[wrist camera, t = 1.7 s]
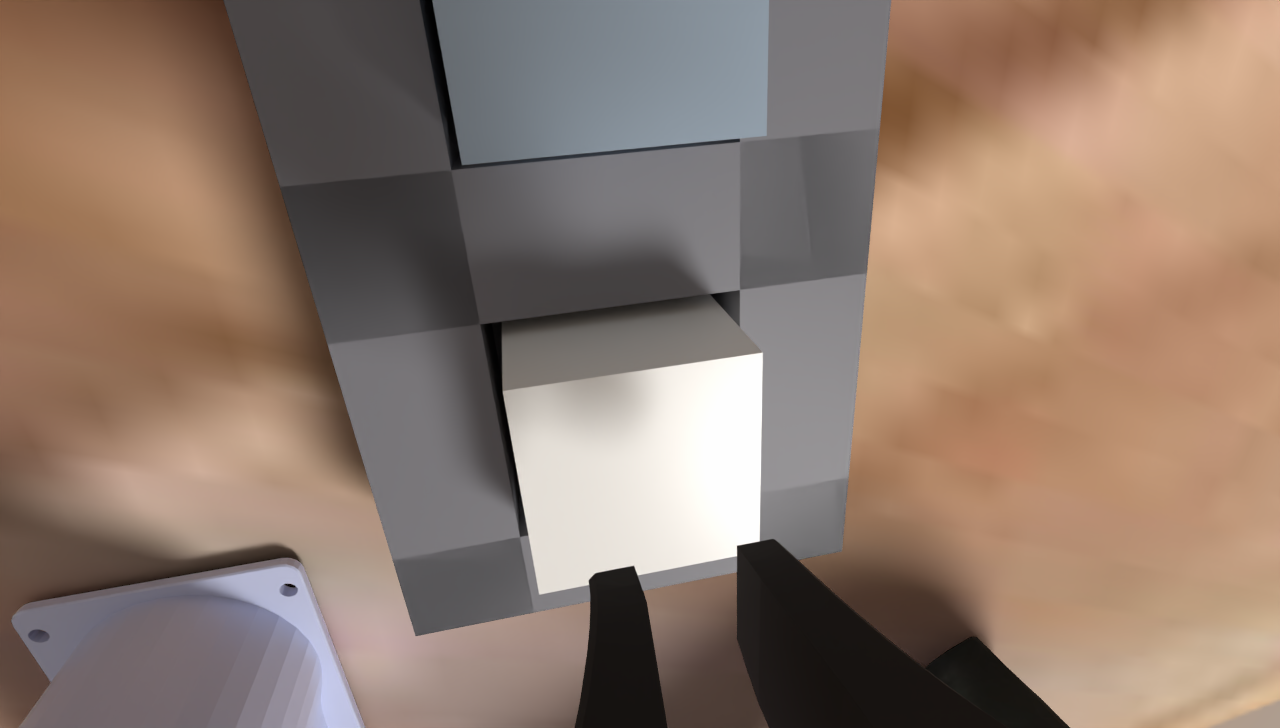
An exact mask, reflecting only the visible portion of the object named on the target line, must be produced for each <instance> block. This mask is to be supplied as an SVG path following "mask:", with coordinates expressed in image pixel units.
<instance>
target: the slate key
mask: <svg viewBox="0 0 1280 728" xmlns="http://www.w3.org/2000/svg"><path fill="white" fill-rule="evenodd" d="M432 1H433V7H434V13H435V18H436V24H437V29H438V35H439V40H440V46H441V51H442V57H443V63H444V68H445V74H446V79H447V85H448V90H449V96H450V102H451V107H452V113H453V118H454V124H455V129H456V135H457V140H458V146H459V152H460V157H461V163H462V165H469V164H479V163H490V162H500V161H511V160H521V159H531V158H542V157H552V156H563V155H573V154H583V153H594V152H604V151H614V150H625V149H635V148H646V147H656V146H666V145H677V144H687V143H698V142H708V141H718V140H729V139H739V138H750V137H760V136H767V89H768V32H769V0H432Z"/></svg>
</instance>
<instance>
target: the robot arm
mask: <svg viewBox="0 0 1280 728" xmlns="http://www.w3.org/2000/svg"><path fill="white" fill-rule="evenodd" d="M285 584H293V585H295V586H296V587H288V586H286V585H285ZM589 588H590V630H589V641H588V651H587V659H586V665H585V672H584V679H583V685H582V692H581V699H580V704H579V710H578V715H577V719H576V724H575V728H667V722H666V716H665V710H664V704H663V698H662V692H661V686H660V680H659V674H658V668H657V662H656V656H655V650H654V643H653V637H652V631H651V625H650V619H649V613H648V607H647V602H646V599H645V596H644V593H643V590H642V587H641V584H640V581H639V578H638V575H637V572H636V570H635V567H634V566H629V567H624V568H619V569H614V570H609V571H603V572H598V573H595V574H594V575H593V576H592V577H591V578H590V579H589ZM11 622H12V625H13V627H14V628H15V630H16V631H17V633H18V634H19V636H20V637H21V639H22V640H23V642H24V643H25V645H26V646H27V648H28V649H29V651H30V652H31V654H32V655H33V657H34V658H35V660H36V661H37V663H38V664H39V665H40V667H41V668H42V670H43V671H44V673H45V674H46V676H47V677H48V679H49V680H50V682H51V683H50V684H49V686H48V687H47V689H46V690H45V691H44V693H43V694H42V695H41V697H40V698H39V700H38V701H37V702H36V704H35V705H34V707H33V708H32V709H31V711H30V712H29V714H28V715H27V716H26V718H25V719H24V720H23V722H22V723H21V725H20V726H19V727H18V728H365V726H364V723H363V721H362V718H361V715H360V713H359V710H358V708H357V705H356V702H355V700H354V697H353V695H352V692H351V689H350V687H349V684H348V681H347V679H346V676H345V674H344V671H343V668H342V666H341V663H340V661H339V658H338V655H337V653H336V650H335V647H334V645H333V642H332V640H331V637H330V634H329V632H328V629H327V627H326V624H325V621H324V619H323V616H322V614H321V611H320V608H319V606H318V603H317V600H316V598H315V595H314V593H313V590H312V587H311V585H310V582H309V580H308V577H307V574H306V572H305V569H304V567H303V565H302V564H301V563H300V562H299V561H297V560H296V559H292V558H279V559H273V560H268V561H262V562H256V563H251V564H245V565H239V566H234V567H228V568H223V569H217V570H211V571H206V572H200V573H194V574H189V575H183V576H177V577H172V578H166V579H160V580H155V581H149V582H143V583H138V584H132V585H126V586H121V587H115V588H109V589H104V590H98V591H92V592H87V593H81V594H75V595H70V596H64V597H58V598H53V599H47V600H41V601H36V602H30V603H27V604H24V605H23V606H22V607H21V608H19V610H18V611H17V612H16V613H15V614H14V615H13V617H12V620H11ZM41 630H43V631H41ZM44 631H46V632H44ZM737 640H738V643H739V646H740V649H741V652H742V656H743V659H744V662H745V665H746V668H747V671H748V674H749V677H750V680H751V683H752V686H753V689H754V692H755V695H756V697H757V700H758V703H759V705H760V708H761V710H762V712H763V714H764V717H765V719H766V721H767V723H768V726H769V728H1008V727H1006V726H1005V725H1003V724H1002V723H1000V722H999V721H997V720H996V719H994V718H993V717H991V716H990V715H988V714H987V713H985V712H984V711H982V710H981V709H980V708H978V707H977V706H975V705H974V704H973V703H971V702H970V701H968V700H967V699H965V698H964V697H963V696H961V695H960V694H959V693H957V692H956V691H954V690H953V689H952V688H950V687H949V686H948V685H946V684H945V683H944V682H942V681H941V680H940V679H938V678H937V677H936V676H934V675H933V674H932V673H930V672H929V671H928V670H927V669H925V668H924V667H923V666H921V665H920V664H919V663H917V662H916V661H915V660H913V659H912V658H911V657H910V656H908V655H907V654H906V653H905V652H903V651H902V650H901V649H900V648H898V647H897V646H896V645H895V644H893V643H892V642H891V641H890V640H889V639H887V638H886V637H885V636H884V635H883V634H881V633H880V632H879V631H878V630H877V629H875V628H874V627H873V626H872V625H871V624H869V623H868V622H867V621H866V620H865V619H863V618H862V617H861V616H860V615H859V614H857V613H856V612H855V611H854V610H853V609H852V608H850V607H849V606H848V605H847V604H846V603H845V602H844V601H842V600H841V599H840V598H839V597H838V596H837V595H836V594H835V593H833V592H832V591H831V590H830V589H829V588H828V587H827V586H826V585H825V584H823V583H822V582H821V581H820V580H819V579H818V578H817V577H816V576H815V575H814V574H812V573H811V572H810V571H809V570H808V569H807V568H806V567H805V566H804V565H803V564H802V563H801V562H799V561H798V560H797V559H796V558H795V557H794V556H793V555H792V554H791V553H790V552H789V551H788V550H787V549H786V548H784V547H783V546H782V545H781V544H780V543H779V542H777V541H776V540H775V539H769V540H764V541H759V542H754V543H749V544H743V545H738V546H737Z"/></svg>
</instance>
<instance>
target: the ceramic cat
mask: <svg viewBox="0 0 1280 728" xmlns="http://www.w3.org/2000/svg"><path fill="white" fill-rule="evenodd" d="M925 669H927V670H928V671H929V672H930V673H932V674H933V675H934V676H936V677H937V678H938V679H940V680H941V681H942V682H944V683H945V684H946V685H948V686H949V687H950V688H952V689H953V690H954V691H956V692H957V693H959V694H960V695H961V696H963V697H964V698H965V699H967V700H968V701H970V702H971V703H973V704H974V705H975V706H977V707H978V708H980V709H981V710H982V711H984V712H985V713H987V714H988V715H990V716H991V717H993V718H994V719H996V720H997V721H999V722H1000V723H1002V724H1003V725H1005V726H1006V727H1008V728H1070V727H1069V726H1068V725H1067V724H1066V723H1065V722H1064V721H1063V720H1062V719H1061V718H1060V717H1059V716H1058V715H1057V714H1056V713H1055V712H1054V711H1053V710H1052V709H1051V708H1050V707H1049V706H1048V705H1047V704H1046V703H1045V702H1044V701H1043V700H1042V699H1041V698H1040V697H1039V696H1037V695H1036V694H1035V693H1034V692H1033V691H1032V690H1031V689H1030V688H1029V687H1028V686H1026V685H1025V684H1024V683H1023V682H1022V681H1021V680H1020V679H1019V678H1018V677H1017V676H1016V675H1015V674H1014V673H1013V672H1012V671H1011V670H1009V669H1008V668H1007V667H1006V666H1005V665H1004V664H1003V663H1002V662H1001V661H1000V660H999V659H998V658H997V657H996V656H995V655H994V654H993V653H992V652H991V651H990V650H989V649H988V648H987V647H986V646H985V645H984V644H983V643H982V642H981V641H980V640H979V639H978V638H977V637H971V638H969V639H967V640H965V641H964V642H962V643H960V644H959V645H957V646H955V647H954V648H952V649H950V650H948V651H947V652H945V653H944V654H943V655H941V656H940V657H938V658H937V659H936V660H934V661H933V662H931V663H930V664H929V665H928V666H927V667H926V668H925Z"/></svg>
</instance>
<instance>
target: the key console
mask: <svg viewBox="0 0 1280 728" xmlns="http://www.w3.org/2000/svg"><path fill="white" fill-rule="evenodd" d="M223 1H224V4H225V7H226V11H227V14H228V17H229V20H230V24H231V27H232V30H233V34H234V37H235V40H236V44H237V47H238V50H239V53H240V57H241V60H242V63H243V67H244V70H245V73H246V77H247V80H248V83H249V87H250V90H251V93H252V96H253V100H254V103H255V106H256V110H257V113H258V116H259V120H260V123H261V126H262V130H263V133H264V136H265V139H266V143H267V146H268V149H269V153H270V156H271V159H272V163H273V166H274V169H275V173H276V176H277V179H278V182H279V186H280V189H281V192H282V196H283V199H284V202H285V206H286V209H287V212H288V216H289V219H290V222H291V225H292V229H293V232H294V235H295V239H296V242H297V245H298V249H299V252H300V255H301V258H302V262H303V265H304V268H305V272H306V275H307V278H308V282H309V285H310V288H311V292H312V295H313V298H314V301H315V305H316V308H317V311H318V315H319V318H320V321H321V325H322V328H323V331H324V335H325V338H326V341H327V344H328V348H329V351H330V354H331V358H332V361H333V364H334V368H335V371H336V374H337V378H338V381H339V384H340V387H341V391H342V394H343V397H344V401H345V404H346V407H347V411H348V414H349V417H350V421H351V424H352V427H353V430H354V434H355V437H356V440H357V444H358V447H359V450H360V454H361V457H362V460H363V463H364V467H365V470H366V473H367V477H368V480H369V483H370V487H371V490H372V493H373V497H374V500H375V503H376V506H377V510H378V513H379V516H380V520H381V523H382V526H383V530H384V533H385V536H386V540H387V543H388V546H389V549H390V553H391V556H392V559H393V563H394V566H395V569H396V573H397V576H398V579H399V583H400V586H401V589H402V592H403V596H404V599H405V602H406V606H407V609H408V612H409V616H410V619H411V622H412V626H413V629H414V632H415V635H416V636H419V635H424V634H429V633H434V632H439V631H444V630H449V629H454V628H459V627H464V626H469V625H474V624H479V623H484V622H489V621H494V620H499V619H504V618H509V617H514V616H519V615H524V614H529V613H534V612H539V611H544V610H549V609H554V608H559V607H564V606H569V605H574V604H579V603H584V602H589V601H590V588H589V585H586V586H581V587H576V588H571V589H566V590H561V591H556V592H550V593H545V594H540V595H539V591H538V585H537V580H536V574H535V568H534V563H533V557H532V552H531V546H530V541H529V535H528V530H527V524H526V518H525V513H524V507H523V502H522V496H521V491H520V485H519V479H518V474H517V468H516V463H515V457H514V452H513V446H512V441H511V435H510V429H509V424H508V418H507V413H506V407H505V402H504V396H503V384H502V321H510V320H517V319H525V318H532V317H540V316H547V315H555V314H563V313H570V312H578V311H585V310H593V309H600V308H608V307H615V306H623V305H631V304H638V303H646V302H653V301H661V300H668V299H676V298H683V297H691V296H699V295H706V294H710V295H711V296H712V297H713V298H714V299H715V300H716V302H717V303H718V304H719V305H720V306H721V307H722V308H723V309H724V310H725V311H726V313H727V314H728V315H729V316H730V317H731V318H732V319H733V320H734V321H735V322H736V324H737V325H738V326H739V327H740V328H741V329H742V330H743V331H744V332H745V334H746V335H747V336H748V337H749V338H750V339H751V340H752V341H753V342H754V343H755V345H756V346H757V347H758V348H759V349H760V350H761V351H762V352H763V372H762V428H761V485H760V541H764V540H769V539H775V540H776V541H777V542H779V543H780V544H781V545H782V546H783V547H784V548H786V549H787V550H788V551H789V552H790V553H791V554H792V555H793V556H794V557H795V558H796V559H797V560H800V559H805V558H810V557H815V556H820V555H825V554H831V553H836V552H841V551H842V545H843V534H844V522H845V511H846V500H847V489H848V478H849V466H850V455H851V444H852V433H853V422H854V410H855V399H856V388H857V377H858V366H859V354H860V343H861V332H862V321H863V310H864V298H865V287H866V276H867V265H868V254H869V242H870V231H871V220H872V209H873V198H874V186H875V175H876V164H877V153H878V141H879V130H880V119H881V108H882V97H883V85H884V74H885V63H886V52H887V41H888V29H889V18H890V7H891V0H769V32H768V89H767V136H760V137H750V138H739V139H729V140H718V141H708V142H698V143H687V144H677V145H666V146H656V147H646V148H635V149H625V150H614V151H604V152H594V153H583V154H573V155H563V156H552V157H542V158H531V159H521V160H511V161H500V162H490V163H479V164H469V165H462V163H461V157H460V152H459V146H458V140H457V135H456V129H455V124H454V118H453V113H452V107H451V102H450V96H449V90H448V85H447V79H446V74H445V68H444V63H443V57H442V51H441V46H440V40H439V35H438V29H437V24H436V18H435V13H434V7H433V1H432V0H223ZM735 572H737V556H735V557H730V558H725V559H719V560H714V561H709V562H704V563H699V564H694V565H689V566H684V567H678V568H673V569H668V570H663V571H658V572H653V573H648V574H643V575H638V578H639V581H640V584H641V587H642V590H643V591H645V590H650V589H655V588H660V587H665V586H670V585H675V584H680V583H685V582H690V581H695V580H700V579H705V578H710V577H715V576H720V575H725V574H730V573H735Z"/></svg>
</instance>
